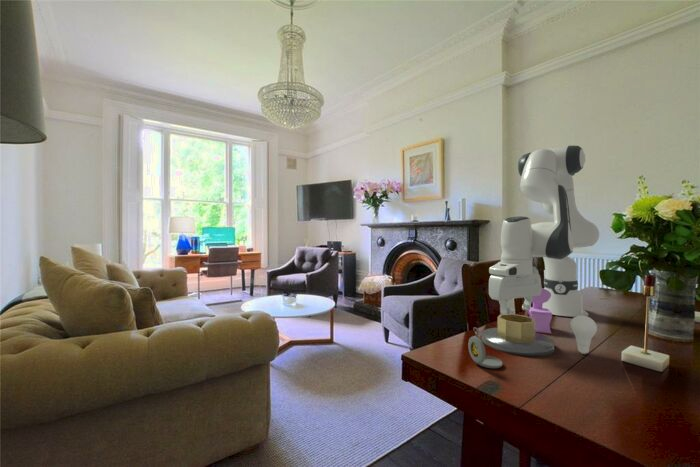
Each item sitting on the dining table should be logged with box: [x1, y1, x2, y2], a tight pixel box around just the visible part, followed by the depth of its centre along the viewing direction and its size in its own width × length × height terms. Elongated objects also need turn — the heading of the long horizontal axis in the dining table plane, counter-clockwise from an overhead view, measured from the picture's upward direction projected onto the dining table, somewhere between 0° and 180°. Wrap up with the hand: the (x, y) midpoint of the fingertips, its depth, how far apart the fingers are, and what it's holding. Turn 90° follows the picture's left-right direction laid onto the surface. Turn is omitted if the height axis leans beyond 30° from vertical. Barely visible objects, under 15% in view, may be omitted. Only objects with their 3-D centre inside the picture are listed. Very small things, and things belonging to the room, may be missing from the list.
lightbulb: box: [569, 315, 598, 355], centre depth 88 cm, size 6×6×11 cm
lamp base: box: [481, 313, 555, 357], centre depth 96 cm, size 20×20×8 cm
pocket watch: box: [467, 327, 503, 369], centre depth 81 cm, size 8×8×10 cm
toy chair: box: [526, 287, 553, 334], centre depth 110 cm, size 8×9×15 cm
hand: (516, 311), depth 96 cm, fingers open, 8 cm apart
